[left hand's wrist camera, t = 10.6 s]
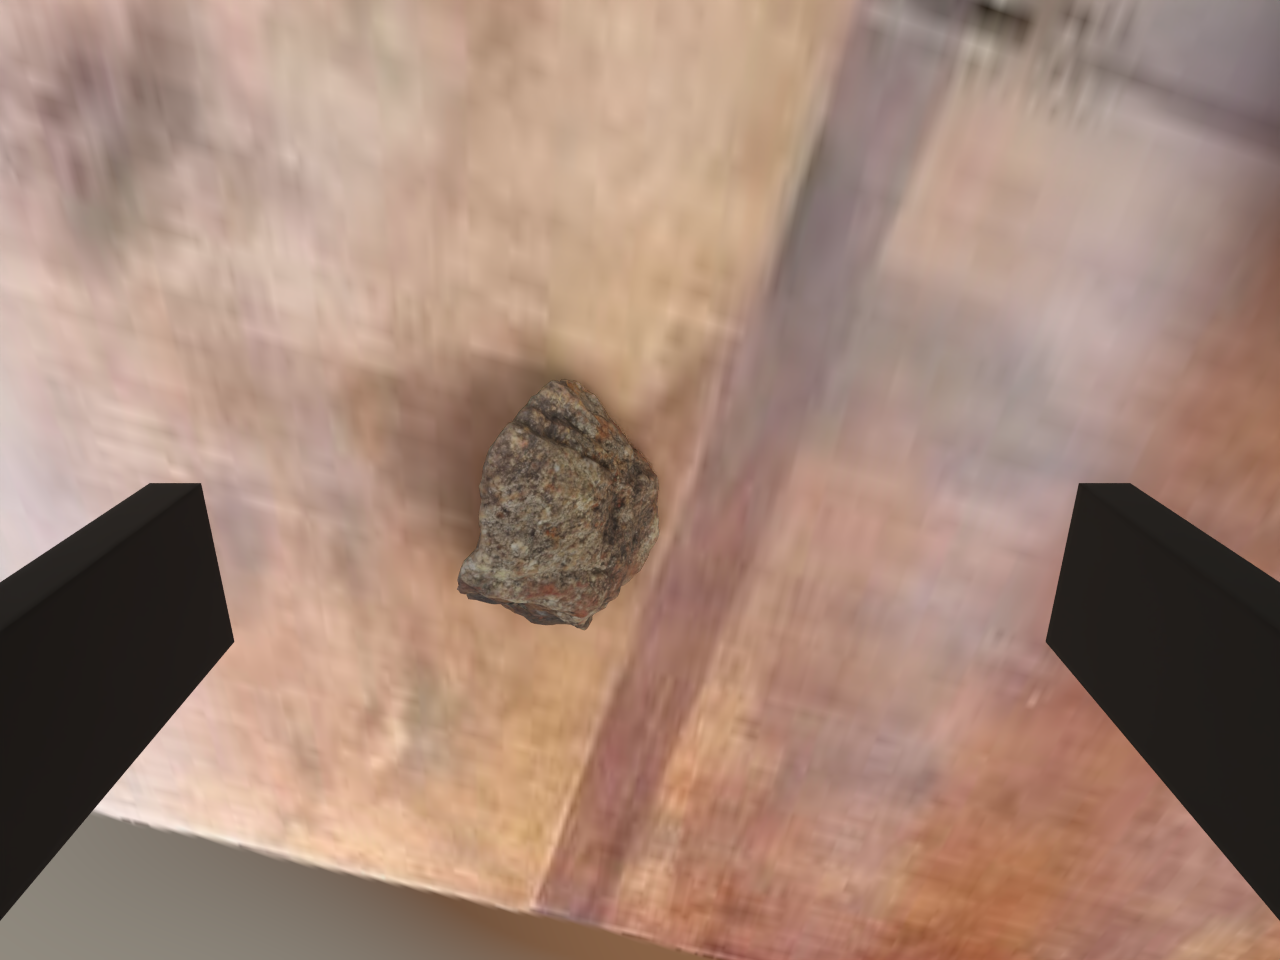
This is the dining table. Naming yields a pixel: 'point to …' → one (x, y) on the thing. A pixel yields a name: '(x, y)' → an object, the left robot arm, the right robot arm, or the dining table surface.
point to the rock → (561, 511)
